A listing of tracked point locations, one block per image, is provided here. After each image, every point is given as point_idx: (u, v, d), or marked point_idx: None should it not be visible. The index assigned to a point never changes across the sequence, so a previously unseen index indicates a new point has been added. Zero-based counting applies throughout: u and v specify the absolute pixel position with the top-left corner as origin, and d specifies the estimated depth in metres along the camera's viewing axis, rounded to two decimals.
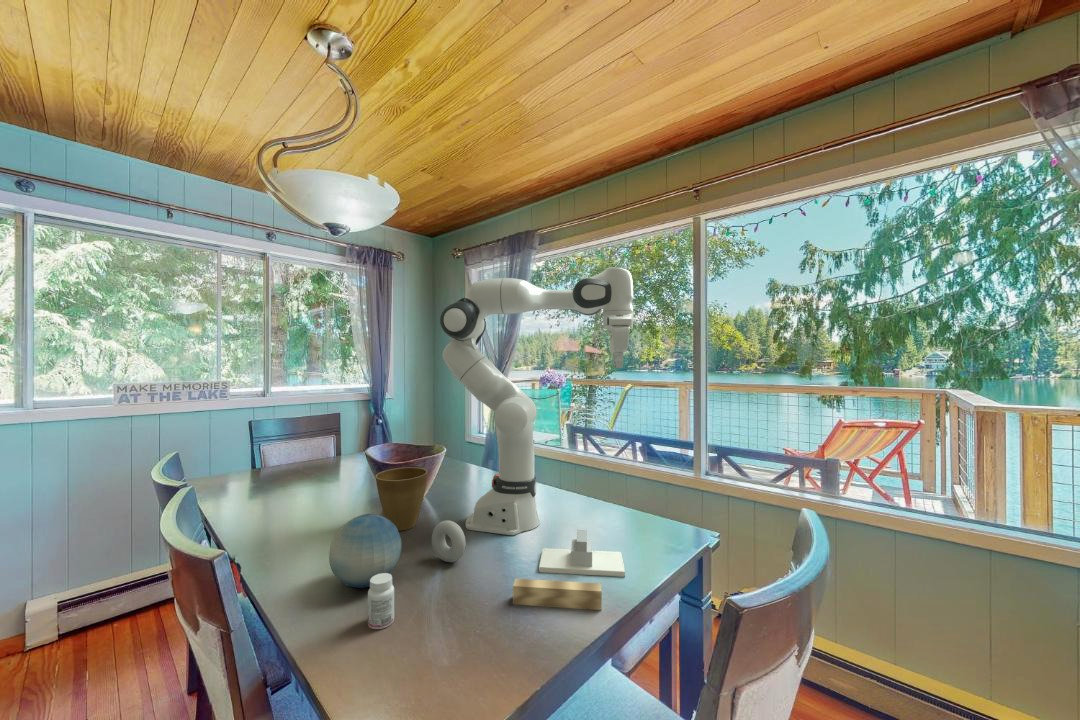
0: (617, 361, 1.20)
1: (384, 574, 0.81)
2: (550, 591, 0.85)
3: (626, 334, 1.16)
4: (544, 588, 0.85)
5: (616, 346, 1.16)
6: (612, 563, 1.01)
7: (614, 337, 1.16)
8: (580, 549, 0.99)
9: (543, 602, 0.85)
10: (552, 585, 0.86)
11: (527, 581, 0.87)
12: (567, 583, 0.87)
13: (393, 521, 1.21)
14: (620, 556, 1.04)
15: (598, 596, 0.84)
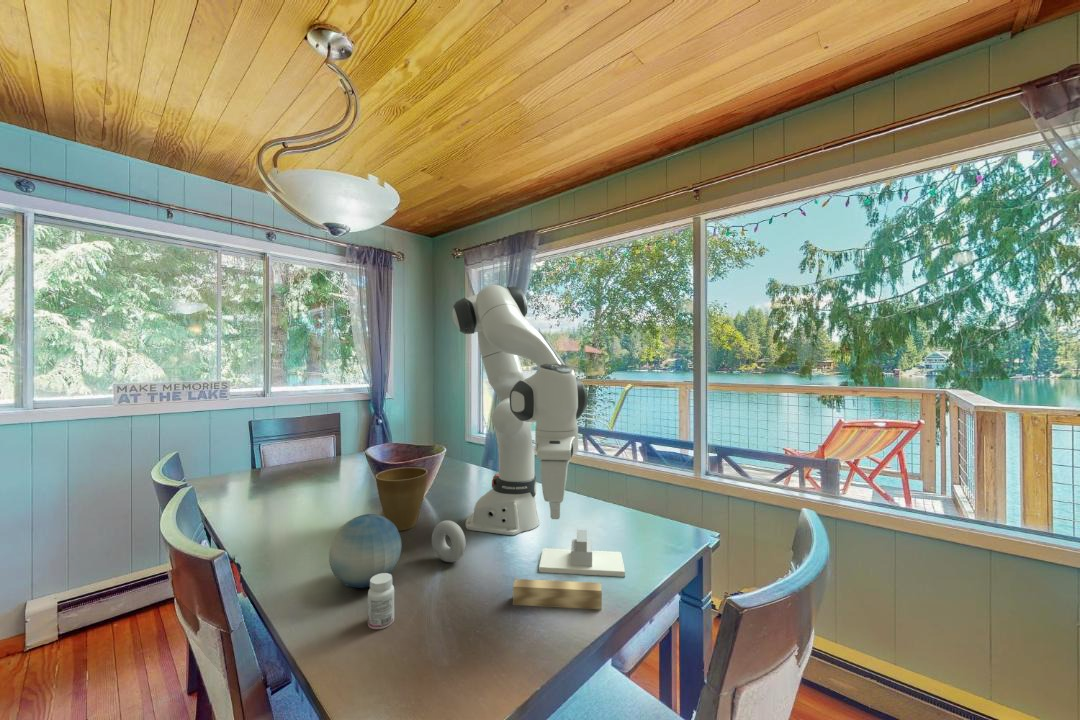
0: (552, 509, 0.81)
1: (384, 574, 0.81)
2: (550, 591, 0.85)
3: (561, 476, 0.77)
4: (544, 588, 0.85)
5: (545, 495, 0.77)
6: (612, 563, 1.01)
7: (543, 481, 0.77)
8: (580, 549, 0.99)
9: (543, 602, 0.85)
10: (552, 585, 0.86)
11: (527, 582, 0.87)
12: (567, 583, 0.87)
13: (393, 521, 1.21)
14: (620, 556, 1.04)
15: (598, 596, 0.84)
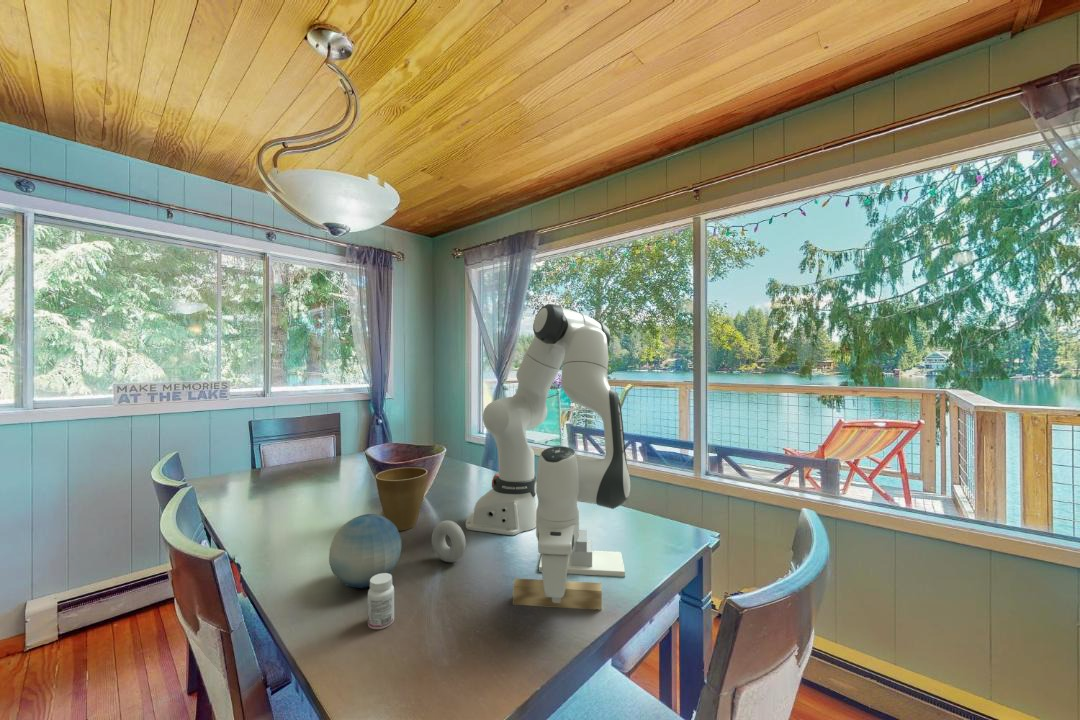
0: None
1: (384, 574, 0.81)
2: None
3: (562, 573, 0.77)
4: None
5: (546, 592, 0.76)
6: (612, 563, 1.01)
7: (544, 577, 0.77)
8: (580, 549, 0.99)
9: (543, 602, 0.85)
10: None
11: (527, 581, 0.87)
12: (567, 583, 0.87)
13: (393, 521, 1.21)
14: (620, 556, 1.04)
15: (598, 596, 0.84)
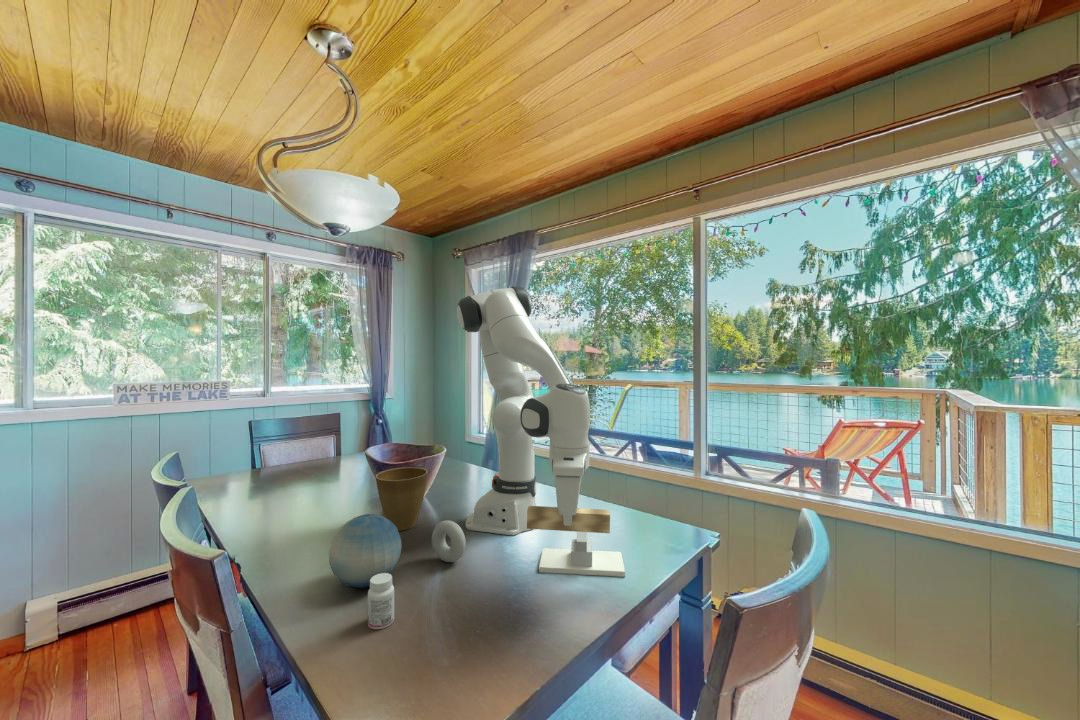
0: (565, 517, 0.89)
1: (384, 574, 0.81)
2: (562, 515, 0.91)
3: (575, 492, 0.83)
4: (556, 512, 0.91)
5: (560, 509, 0.83)
6: (612, 563, 1.01)
7: (558, 495, 0.83)
8: (580, 549, 0.99)
9: (555, 525, 0.91)
10: None
11: (540, 507, 0.93)
12: (577, 509, 0.93)
13: (393, 521, 1.21)
14: (620, 556, 1.04)
15: (607, 520, 0.90)
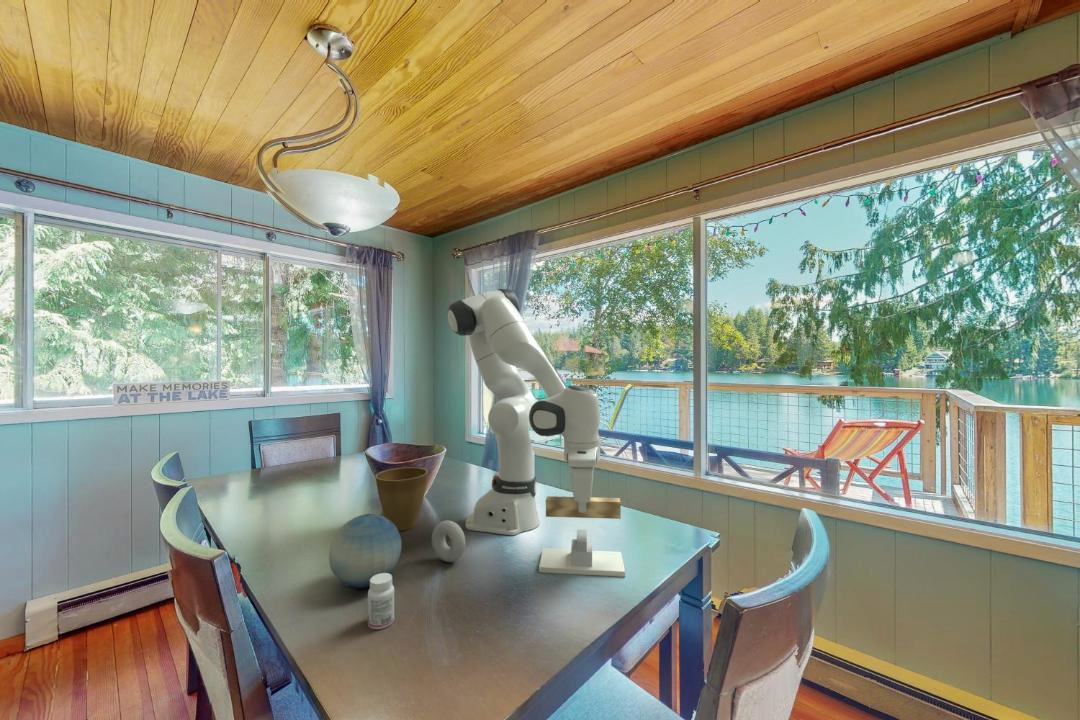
0: (579, 504, 1.00)
1: (384, 574, 0.81)
2: (577, 503, 1.01)
3: (588, 481, 0.93)
4: (572, 501, 1.01)
5: (575, 496, 0.93)
6: (612, 563, 1.01)
7: (574, 484, 0.93)
8: (580, 549, 0.99)
9: (571, 513, 1.01)
10: None
11: (557, 497, 1.04)
12: (591, 498, 1.03)
13: (393, 521, 1.21)
14: (620, 556, 1.04)
15: (617, 506, 1.00)
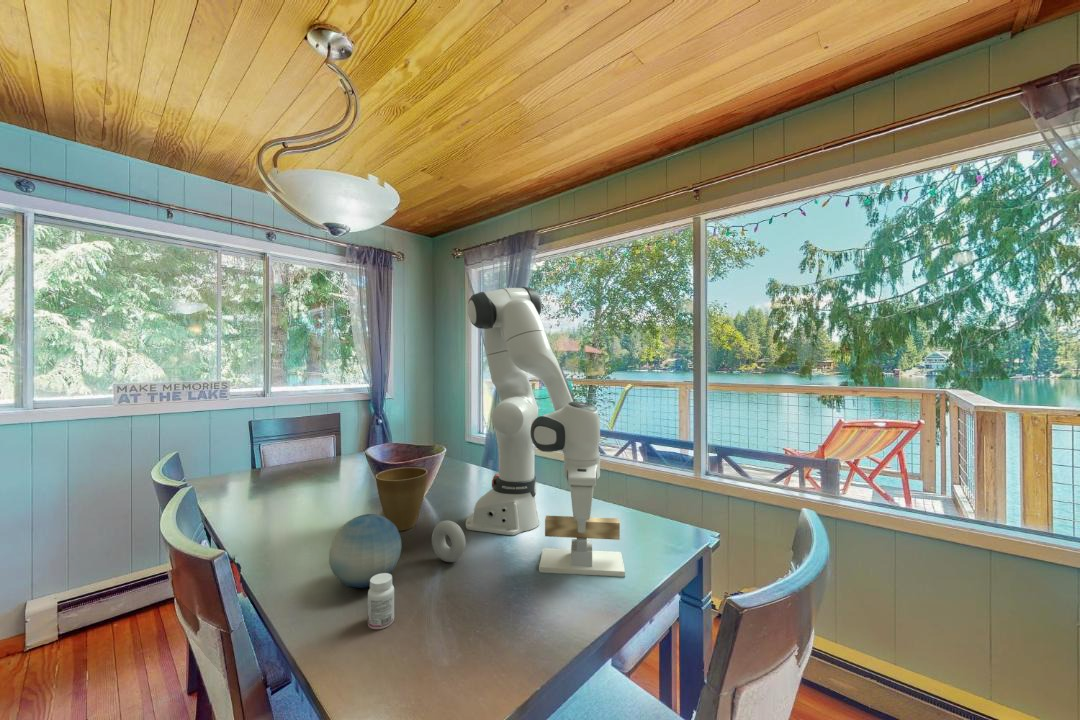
0: (579, 524, 0.98)
1: (384, 574, 0.81)
2: (576, 523, 1.01)
3: (588, 499, 0.93)
4: (571, 521, 1.02)
5: (575, 515, 0.93)
6: (612, 563, 1.01)
7: (573, 503, 0.93)
8: (580, 549, 0.99)
9: (570, 533, 1.02)
10: None
11: (556, 517, 1.04)
12: (590, 518, 1.03)
13: (393, 521, 1.21)
14: (620, 556, 1.04)
15: (617, 527, 1.00)
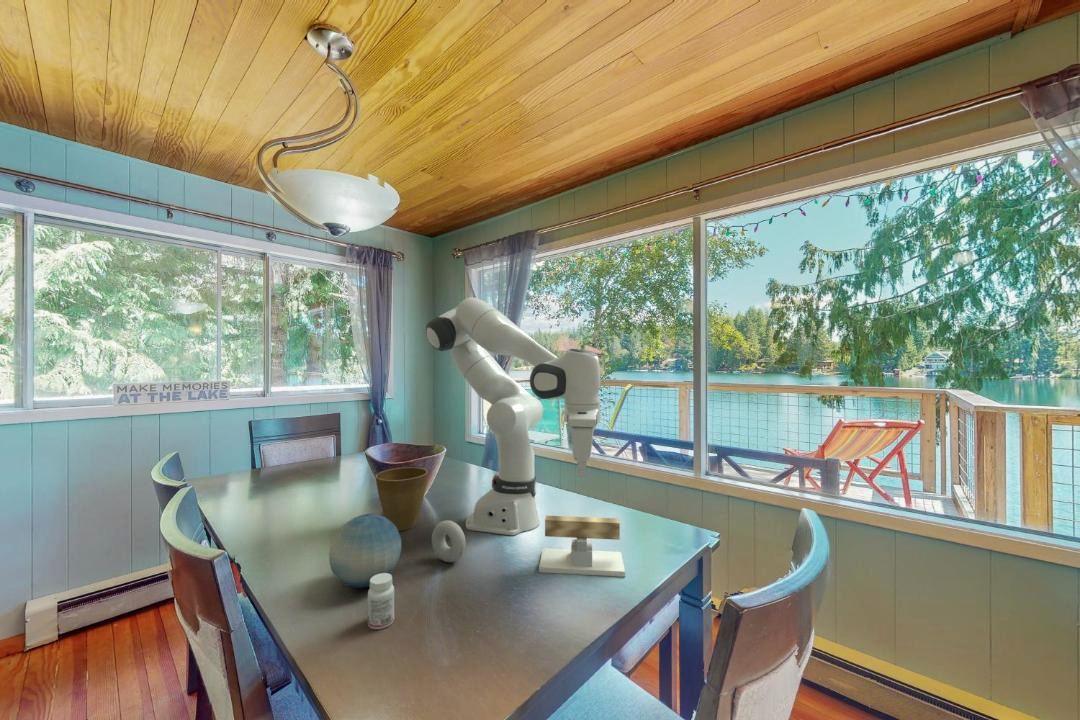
0: (579, 469, 0.97)
1: (384, 574, 0.81)
2: (576, 523, 1.01)
3: (588, 440, 0.93)
4: (571, 521, 1.02)
5: (575, 455, 0.93)
6: (612, 563, 1.01)
7: (573, 443, 0.93)
8: (580, 549, 0.99)
9: (570, 533, 1.02)
10: (578, 519, 1.03)
11: (556, 517, 1.04)
12: (590, 518, 1.03)
13: (393, 521, 1.21)
14: (620, 556, 1.04)
15: (617, 527, 1.00)
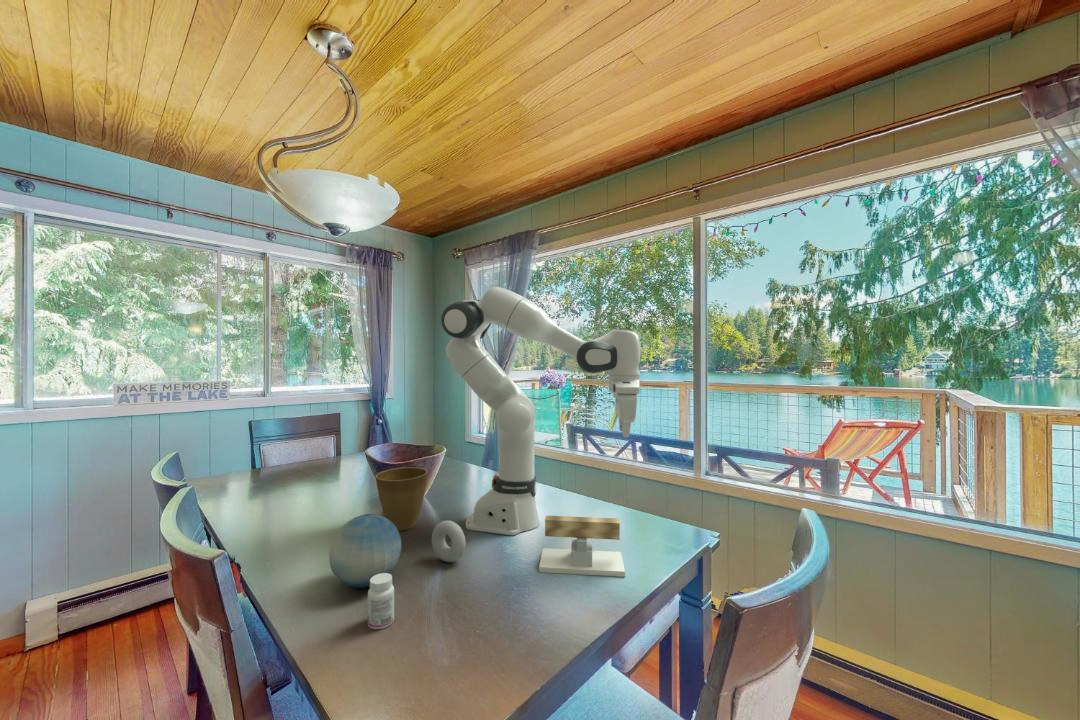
0: (624, 430, 1.14)
1: (384, 574, 0.81)
2: (576, 523, 1.01)
3: (633, 404, 1.10)
4: (571, 521, 1.02)
5: (622, 417, 1.10)
6: (612, 563, 1.01)
7: (621, 407, 1.10)
8: (580, 549, 0.99)
9: (570, 533, 1.02)
10: (578, 519, 1.03)
11: (556, 517, 1.04)
12: (590, 518, 1.03)
13: (393, 521, 1.21)
14: (620, 556, 1.04)
15: (617, 527, 1.00)
